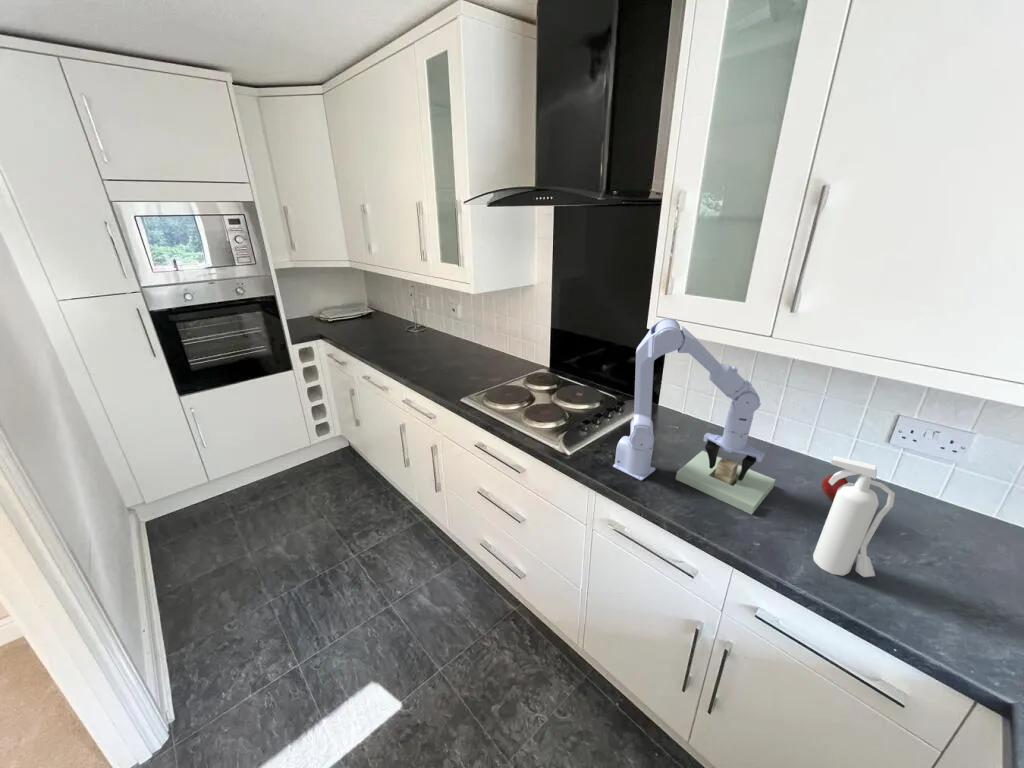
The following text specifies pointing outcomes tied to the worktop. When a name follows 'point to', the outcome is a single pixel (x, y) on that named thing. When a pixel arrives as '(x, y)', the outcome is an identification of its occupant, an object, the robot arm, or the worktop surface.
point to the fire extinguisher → (851, 520)
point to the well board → (739, 495)
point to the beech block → (726, 470)
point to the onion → (832, 486)
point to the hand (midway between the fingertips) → (726, 472)
